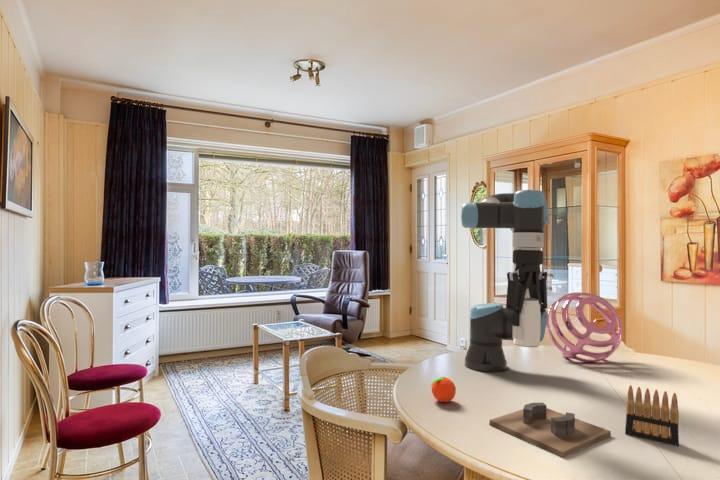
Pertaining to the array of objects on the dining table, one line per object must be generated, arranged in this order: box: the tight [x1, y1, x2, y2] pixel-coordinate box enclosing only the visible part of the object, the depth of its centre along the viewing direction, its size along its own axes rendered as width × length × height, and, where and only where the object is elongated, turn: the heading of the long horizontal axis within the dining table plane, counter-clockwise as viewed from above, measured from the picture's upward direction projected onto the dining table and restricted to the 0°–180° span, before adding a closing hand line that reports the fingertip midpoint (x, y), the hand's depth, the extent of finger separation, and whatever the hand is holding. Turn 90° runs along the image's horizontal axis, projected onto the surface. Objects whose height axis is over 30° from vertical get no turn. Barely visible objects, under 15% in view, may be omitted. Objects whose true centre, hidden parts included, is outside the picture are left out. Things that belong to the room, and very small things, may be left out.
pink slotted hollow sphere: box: [546, 291, 623, 363], centre depth 178 cm, size 28×28×27 cm
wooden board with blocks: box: [488, 402, 612, 458], centre depth 109 cm, size 20×20×5 cm
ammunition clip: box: [624, 384, 680, 447], centre depth 106 cm, size 11×2×12 cm, turn 56°
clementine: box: [430, 376, 457, 403], centre depth 128 cm, size 8×7×7 cm
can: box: [512, 298, 541, 348], centre depth 115 cm, size 6×6×12 cm
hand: (526, 337), depth 115 cm, fingers closed on can, 6 cm apart
